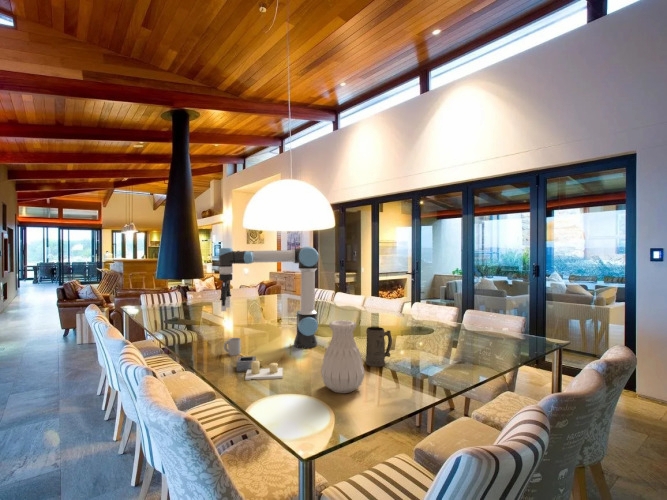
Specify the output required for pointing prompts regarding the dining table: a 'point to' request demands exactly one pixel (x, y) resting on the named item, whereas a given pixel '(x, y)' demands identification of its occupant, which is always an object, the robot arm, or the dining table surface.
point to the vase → (342, 359)
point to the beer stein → (377, 346)
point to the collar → (245, 363)
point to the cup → (233, 346)
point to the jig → (263, 371)
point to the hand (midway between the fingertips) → (225, 309)
